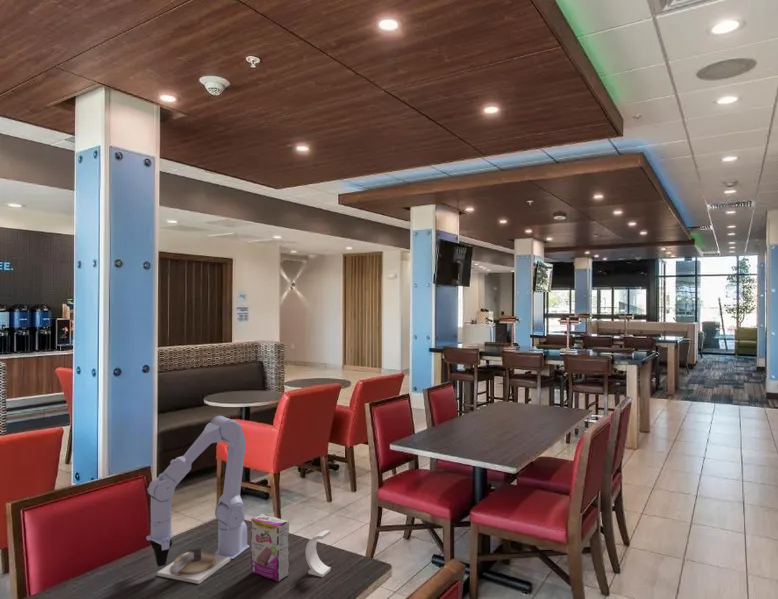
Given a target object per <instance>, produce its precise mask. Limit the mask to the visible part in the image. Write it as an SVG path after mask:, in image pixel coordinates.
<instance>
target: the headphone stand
mask: <svg viewBox="0 0 778 599" xmlns="http://www.w3.org/2000/svg"><path fill="white" fill-rule="evenodd" d="M330 534H331V530H329V529H326V530H322V531H321V532H319V533H318V534H316V535H314V536H313V537H312V538H311V539H309V540H308V541H307V544H306V546H305V551H304V552H305V559H306V562H307V564H308V565H307V566H308V567H309V570H308V575H312V576H316V577H320V578H323V577H325V576H326V575H327V574H328V573H329V572H331V571H332V570H331V566H328V565H326V564H325V563H324V562H323V561H322V560H321V558H320V557H319V555H318V551H317V543H318V541H319V540H323V539H325V538H326V537H328V536H329V535H330Z"/></svg>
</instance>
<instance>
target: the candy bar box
mask: <svg viewBox="0 0 778 599" xmlns="http://www.w3.org/2000/svg"><path fill="white" fill-rule="evenodd" d="M289 522H290V521H289V520H286V519H282V518H279V517H275V516H271V515H268V514H265V513H260V514H258V515H256V516H254V517H252V518H251V519H250V533H251V534H250V542H251V544H250V546H251V548H250V549H251V550H250V552H251V553H250V554H251V555H250V556H251V558H250V559H251V561H250V565H251V566H250V567H251V568H250V569H251V571H250V572H251V573H252V574H255V575H259V576H261V577H265V578H267V579H270V580H273V581H276V582H280V581H282V580H283V579H285V578H286V577H288V576H289V575H290V567H289V566H290V564H289V563H290V560H289V559H290V551H289V550H290V548H289V547H290V546H289V545H290V539H289V538H290V536H289V533H290V530H289V528H290V527H289V526H290V525H289Z"/></svg>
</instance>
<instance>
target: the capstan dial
mask: <svg viewBox="0 0 778 599" xmlns="http://www.w3.org/2000/svg"><path fill="white" fill-rule="evenodd" d="M173 562H174V565H172V566H171V574H176V573H177V572H179V573H184V574H191V573H197V572H201V571H204V570H207V569H209V568H210V567H212V566H213V565H214V564H215V554H214V552H213V551H211V550H208V549H202V548H201V547H198V546H196V547H191V548H189V549H188V551H187V552H185V553H184V552H183V553H182V554H180V555H178V556H177V557H176V558H174V560H173Z"/></svg>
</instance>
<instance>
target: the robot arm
mask: <svg viewBox="0 0 778 599" xmlns="http://www.w3.org/2000/svg"><path fill="white" fill-rule="evenodd" d="M223 441H224V442H225V443H226V444H227V446H228V448H227V456H226V457H227V459H226V463H225V464H226V465H225V466H226V467H225V473H224V481H223V482H224V483H223V491H222V494H221V496H220V497H219V498H218V503H217V505H216V507H215V510H214V516H215V518H216V519H217V520H218V522H217V530H218V531H217V540H218V542H217V547H218V548H217V550H216V551H214V552H213V553H214V554H215V555H220V556H226V557H230V560H233V559H235V558H237V557H238V556H239V555H240V554H242V553H243V552H244V551H246V550H248V548H250V545H249V544H248V526H247V524H246V522H245V518H246V517H245V516H246V514H245V511H244V502H243V499H242V497H241V489H242V480H243V472H244V462H245V454H246V446H247V445H246V444H247V438H246V437H245V434H244V432H243V426H242V424H240V423H239V422H238V421H237V420H235V419H231V418H228V417H225V416H223V415H217V416H215V417H213V418H212V419H211V421H210V422H208V423H207V424H206V425H205V427H204V429H203V431H202V432H201V433H200V435H199V436H198V437H197V438H196V440H195V441H194V442H193V443H192V444H191V445H190V447H189V448H188V449H187V450H186V452H185V453H184V454H183V455H181V456H178V457H176V458H175V459H171V460H170V462H169V465H168V466H167V468H165V469H164V471H163V472H162V473H159V474H158V477H156V478H154V479H152V480H151V481H150V483H149V486H148V487H147V488H146V490H147V493H148V494H149V496H150V534H149V535H147V536H146V540H147V541H149V543H150V545H151V548H152V549H153V552H154V557H155V561H156V565H157V567H158V568H159V567H162V566H166V563H167V561H168V560H167V559H168V556H169V552H170V550H171V547H172V546H173V540H172V537H173V531H172V497H173V496H174V494H175V491H176V487H177V486H178V485H179V483H181V481H182V480H183V479H184V478H185V477H186V475H187V474H189V472H190V471H191V470H192V464H193V462H195V460H196V459H197V458H198V457H199V456H200V455H201V454H202V453H203V452H204V451H205V450H206V449H207V448H208V447H209V446H210V445H211V444H215V443H220V442H223Z"/></svg>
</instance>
